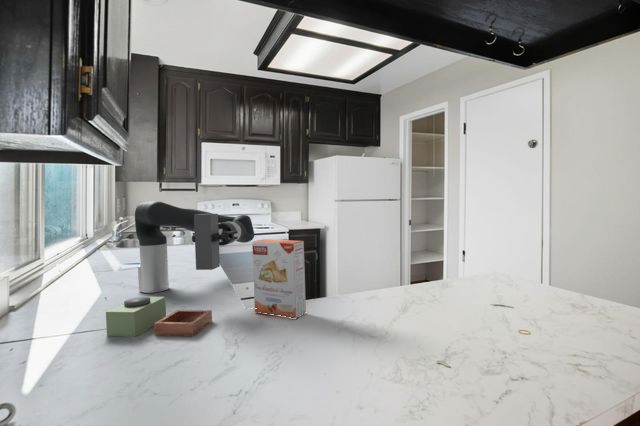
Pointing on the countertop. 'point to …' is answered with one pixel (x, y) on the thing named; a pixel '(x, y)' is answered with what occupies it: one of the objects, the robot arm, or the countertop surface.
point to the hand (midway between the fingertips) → (202, 238)
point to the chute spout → (206, 241)
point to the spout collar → (183, 323)
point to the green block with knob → (135, 316)
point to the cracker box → (279, 277)
